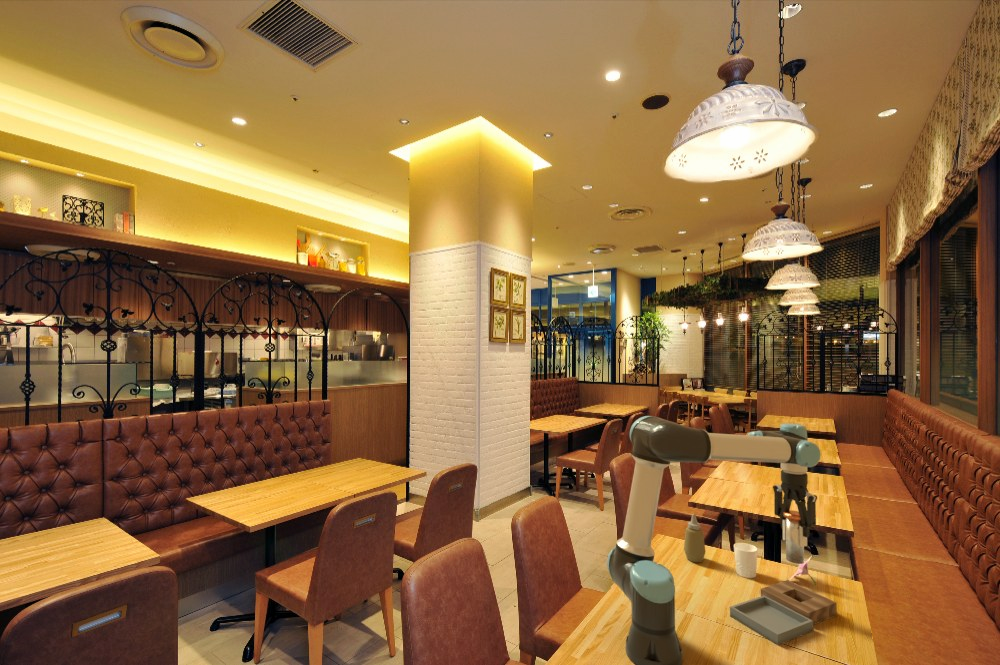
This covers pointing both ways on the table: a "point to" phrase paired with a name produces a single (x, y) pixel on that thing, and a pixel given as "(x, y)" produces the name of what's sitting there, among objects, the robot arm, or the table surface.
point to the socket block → (801, 600)
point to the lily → (802, 570)
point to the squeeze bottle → (694, 541)
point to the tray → (771, 619)
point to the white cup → (745, 559)
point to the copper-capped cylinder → (793, 537)
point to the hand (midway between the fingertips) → (794, 542)
